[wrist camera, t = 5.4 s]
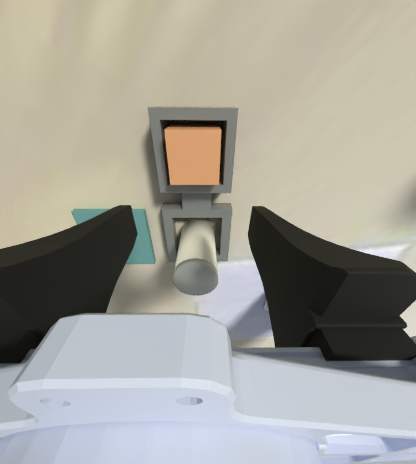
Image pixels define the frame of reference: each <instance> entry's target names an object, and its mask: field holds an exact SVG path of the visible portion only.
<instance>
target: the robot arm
mask: <svg viewBox="0 0 416 464" xmlns="http://www.w3.org/2000/svg"><path fill="white" fill-rule="evenodd" d="M137 235H138V233H137V229H136V225H135V221H134V216H133V212H132V208H131V205H120V206H117V207H114V208H112V209H110V210H108V211H105V212H103V213H101V214H99V215H97V216H95V217H93V218H91V219H89V220H87V221H84V222H82V223H80V224H78V225H76V226H73V227H71V228H69V229H66V230H63V231H61V232H58V233H55V234H52V235H49V236H46V237H43V238H40V239H36V240H33V241H30V242H26V243H23V244H19V245H15V246H11V247H7V248H3V249H0V464H416V336H414V337H411V338H410V337H409V336H408V335H407V333H406V332H405V331H404V330H403V329H405V328H406V327H407V324H406V323H405V321H404V320H403V319H402V318H401V317H400V315H401V314H402V313H403V312H404V311H405V310H406V309H407V308H408V307H409V306H410V305H411V304H412V303H413V302H414V301H415V300H416V273H415V272H414V271H413V270H412V269H410V268H409V267H408V266H407V265H405V264H404V263H402V262H401V261H396V260H392V259H388V258H383V257H379V256H375V255H370V254H367V253H363V252H359V251H356V250H353V249H349V248H346V247H343V246H340V245H337V244H334V243H332V242H329V241H326V240H324V239H321V238H319V237H316V236H314V235H312V234H310V233H308V232H306V231H304V230H302V229H300V228H298V227H296V226H294V225H293V224H291V223H289V222H287V221H286V220H284V219H283V218H281V217H279V216H278V215H276V214H275V213H273V212H272V211H270V210H269V209H267V208H265V207H263V206H252V212H251V218H250V225H249V231H248V238H249V244H250V248H251V251H252V254H253V257H254V260H255V262H256V265H257V268H258V271H259V274H260V276H261V280H262V283H263V287H264V291H265V296H266V302H265V305H264V311H269V314H270V320H271V325H272V331H273V336H274V342H275V348H231V341H230V336H229V334H228V331H227V328H226V327H225V326H224V325H223V324H221V323H219V322H217V321H216V320H214V319H212V318H211V317H209V316H205V315H198V314H191V313H106V311H107V307H108V304H109V301H110V298H111V296H112V293H113V290H114V287H115V285H116V282H117V280H118V278H119V276H120V274H121V272H122V270H123V268H124V266H125V264H126V262H127V260H128V258H129V256H130V254H131V252H132V250H133V248H134V245H135V242H136V238H137Z"/></svg>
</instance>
